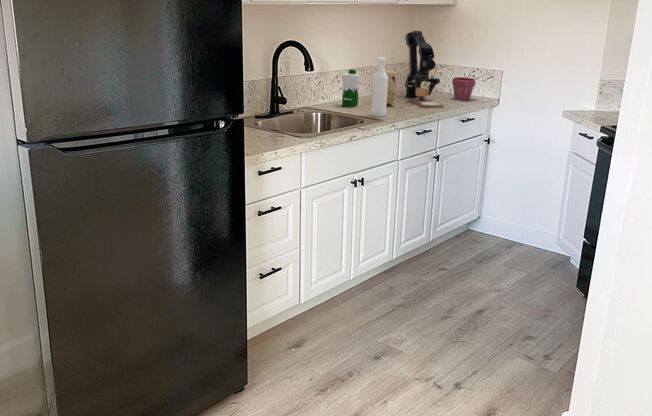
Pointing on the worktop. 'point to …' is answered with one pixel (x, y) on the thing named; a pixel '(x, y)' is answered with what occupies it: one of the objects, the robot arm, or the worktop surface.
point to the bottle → (379, 90)
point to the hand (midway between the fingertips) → (422, 94)
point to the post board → (425, 102)
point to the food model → (391, 87)
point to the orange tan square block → (422, 91)
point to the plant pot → (463, 88)
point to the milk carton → (350, 89)
